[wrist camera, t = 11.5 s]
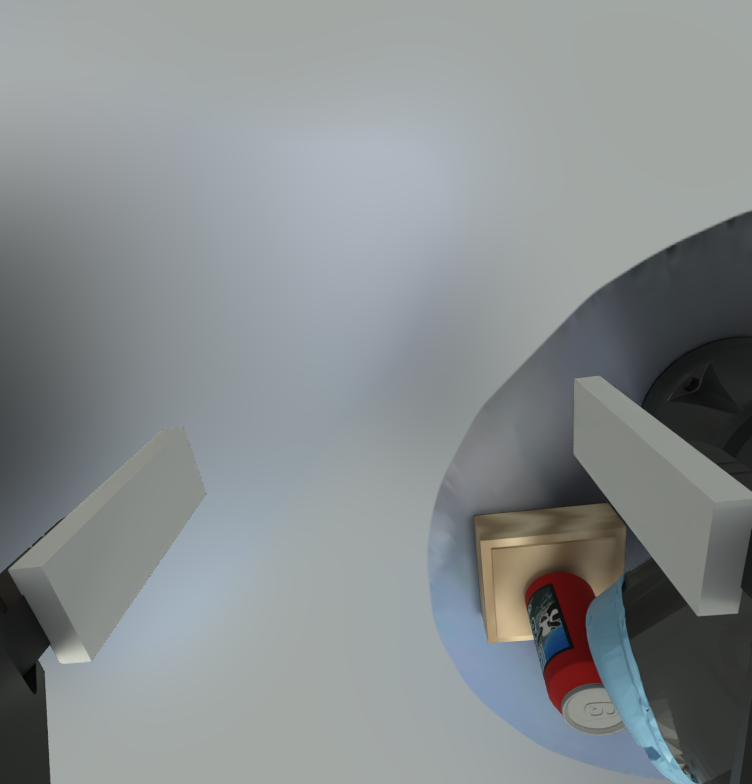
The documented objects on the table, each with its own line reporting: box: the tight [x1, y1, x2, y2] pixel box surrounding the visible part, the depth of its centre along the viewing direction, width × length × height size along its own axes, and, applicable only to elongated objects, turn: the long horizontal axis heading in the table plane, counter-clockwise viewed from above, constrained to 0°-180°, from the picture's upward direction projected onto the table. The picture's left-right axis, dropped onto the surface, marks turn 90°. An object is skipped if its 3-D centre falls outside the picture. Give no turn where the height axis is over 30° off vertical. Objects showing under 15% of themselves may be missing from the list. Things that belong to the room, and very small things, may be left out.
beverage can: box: [525, 572, 626, 735], centre depth 40 cm, size 7×7×12 cm
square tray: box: [474, 503, 627, 643], centre depth 48 cm, size 14×14×4 cm
